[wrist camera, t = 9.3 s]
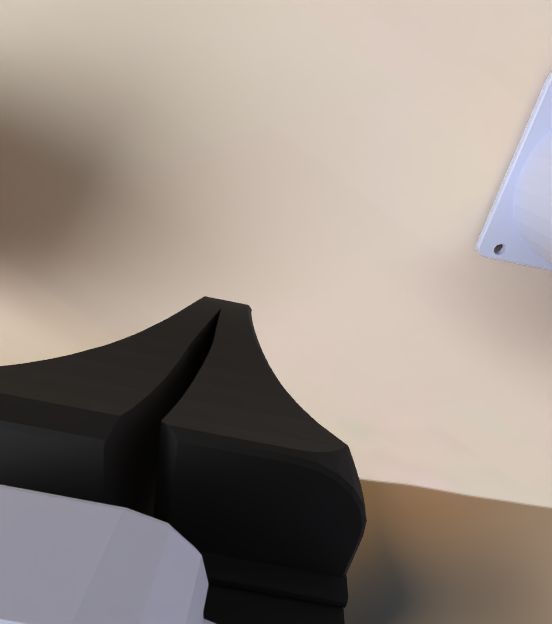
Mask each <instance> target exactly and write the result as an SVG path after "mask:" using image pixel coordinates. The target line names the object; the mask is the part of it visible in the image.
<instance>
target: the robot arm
mask: <svg viewBox="0 0 552 624" xmlns="http://www.w3.org/2000/svg"><path fill="white" fill-rule="evenodd" d="M499 244H502V249H501V250H500V251H498V252H494V248H495V247H496V246H497V245H499ZM476 250H477V252H478V253H479V254H480V255H481V256H484V257H487V258H492V259H497V260H502V261H507V262H512V263H516V264H521V265H526V266H531V267H536V268H540V269H545V270H550V271H552V72H551V73H550V74H549V75H548V77H547V79H546V81H545V83H544V86H543V88H542V90H541V93H540V95H539V97H538V100H537V102H536V104H535V107H534V109H533V111H532V114H531V116H530V119H529V121H528V123H527V126H526V128H525V130H524V133H523V135H522V137H521V140H520V142H519V144H518V147H517V149H516V152H515V154H514V156H513V159H512V161H511V163H510V166H509V168H508V170H507V173H506V175H505V177H504V180H503V182H502V184H501V187H500V189H499V192H498V194H497V196H496V199H495V201H494V203H493V206H492V208H491V210H490V213H489V215H488V217H487V220H486V222H485V224H484V227H483V229H482V232H481V234H480V236H479V239H478V241H477V244H476ZM251 311H252V309H251V308H250V306H249V305H246V304H241V303H236V302H231V301H226V300H221V299H215V298H210V297H203V298H201V299H199V300H198V301H196V302H194V303H193V304H191V305H190V306H188V307H186V308H185V309H183V310H181V311H180V312H178V313H176V314H175V315H173V316H171V317H169V318H168V319H166V320H164V321H162V322H160V323H158V324H156V325H154V326H152V327H150V328H148V329H146V330H144V331H142V332H139V333H137V334H135V335H132V336H130V337H127V338H125V339H122V340H119V341H116V342H114V343H111V344H108V345H105V346H101V347H97V348H94V349H90V350H86V351H83V352H79V353H75V354H72V355H67V356H63V357H58V358H53V359H48V360H42V361H36V362H30V363H23V364H16V365H8V366H0V624H344V610H343V607H345V606H346V604H347V600H348V590H347V578H346V573H347V571H348V569H349V567H350V564H351V562H352V560H353V558H354V555H355V553H356V551H357V548H358V546H359V544H360V541H361V539H362V537H363V533H364V529H365V525H366V521H367V520H366V514H365V504H364V497H363V492H362V489H361V484H360V480H359V477H358V474H357V470H356V467H355V464H354V461H353V458H352V455H351V452H350V449H349V447H348V445H346V444H345V443H344V442H342V441H341V440H340V439H338V438H337V437H336V436H334V435H333V434H332V433H330V432H329V431H328V430H326V429H325V428H324V427H322V426H321V425H320V424H319V423H317V422H316V421H315V420H314V419H313V418H312V417H311V416H310V415H309V414H308V413H306V412H305V411H304V410H303V409H302V408H301V407H300V406H299V405H298V404H297V403H296V402H295V400H294V399H293V398H292V397H291V396H290V395H289V393H288V392H287V391H286V390H285V389H284V387H283V386H282V385H281V383H280V382H279V380H278V379H277V377H276V376H275V374H274V373H273V371H272V369H271V368H270V366H269V364H268V362H267V360H266V358H265V356H264V354H263V352H262V349H261V347H260V345H259V342H258V339H257V336H256V333H255V330H254V326H253V322H252V316H251Z"/></svg>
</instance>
